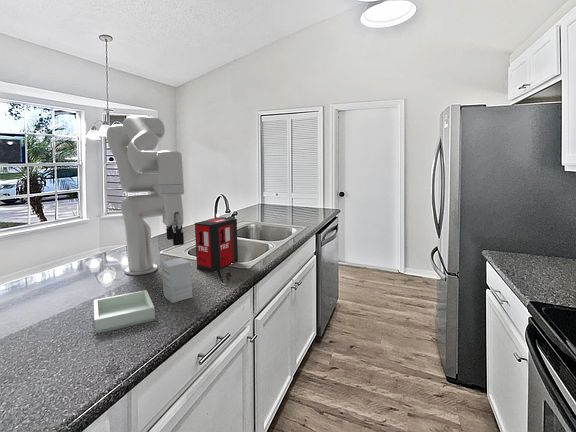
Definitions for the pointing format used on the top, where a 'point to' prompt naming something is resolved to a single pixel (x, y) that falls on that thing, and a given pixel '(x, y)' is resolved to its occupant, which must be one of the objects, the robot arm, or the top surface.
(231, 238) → the cleaning product box
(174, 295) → the supplement box
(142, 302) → the tray
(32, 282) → the top surface
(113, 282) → the top surface
